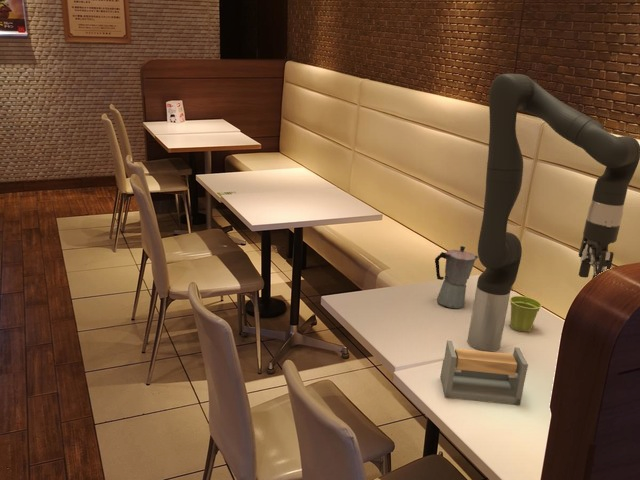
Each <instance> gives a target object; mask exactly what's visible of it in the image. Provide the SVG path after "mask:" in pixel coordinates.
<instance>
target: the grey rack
mask: <svg viewBox="0 0 640 480" xmlns="http://www.w3.org/2000/svg"><path fill="white" fill-rule="evenodd" d="M512 354H513V356H514V359H515V361H516V363H517V368H516V373H515V375H507V374H497V373H487V372H478V371H468V370H458V369H456V360H457V356H456V353H455V348H454V343H453V340H446V345H445V350H444V356H443V359H442V364H441V372H440V375H439V376H440V377H439V378H440V381H441V386H442V391H443V395H444V398H449V399H460V400H469V401H479V402H485V403H486V402H489V403H496V404H498V403H499V404H506V405H515V406H516V405H517V406H520V404H521V402H522V401H521V400H522V395H523V392H524V391H523V390H524V387H525V382H526V377H527V373H528V367H529V363H528V362H527V360H526V358H525V356H524V354H523V352H522V350H521V348H520V347H514V350H513V353H512Z"/></svg>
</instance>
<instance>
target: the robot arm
mask: <svg viewBox="0 0 640 480" xmlns="http://www.w3.org/2000/svg"><path fill="white" fill-rule="evenodd" d="M488 94H489V97H488V108H489V109H488V110H489V111H488V112H489V138H488V139H489V140H488V154H487V162H486V163H487V164H486V175H485V191H484V203H483V204H484V205H483V214H482V220H481V221H482V222H481V227H480V231H479V235H478V236H479V237H478V242H477V256H478V259H479V262H480V264H481V265H482V266H483V267H485V270H484V271H483V272H482V273H481V274H480V275H479V276H478V278H477V283H476V287H475V288H476V289H475V294H474V299H473V307H472V311H471V318H470V324H469V329H468V333H467V334H468V335H467V340H466V341H467V343H468V344H469V346H470V347H472V348H474V349H477V350H478V351H486V352H495V351H498V350H499V349H500V348H501V342H502V338H503V333H504V328H505V322H506V317H507V312H508V307H509V302H510V298H511V296H510V295H511V291H512V287H513V285H514V284H515V282H516V280H517V277H518V273H519V268H520V264H521V260H522V254H523V247H522V243H521V241H520V239H519V237H518V236H517V235H515V234H514V233H513V232H508V231H507V229H508V221H509V217H510V215H511V212H512V210H513V207H514V205H515V203H516V201H517V200H518V197H519V194H520V192H521V188H522V183H523V175H524V158H523V154H522V151H521V147H520V144H519V142H518V141H519V140H518V138H517V137H518V136H517V115H518V111H523V112H526V113H528V114H531V115H534V116H536V117H537V118H540V119H541V120H542V121H544V122H545V123H546V124H547V125H548V126H549V127H550V128H551V129H552V130H553V131H554V132H555V133H556V134H557V135H559V136H560V137H561V138H563V139H564V140H567V141H568V142H570V143H571V144H573V145H575V146H576V147H578V148H581V149H582V150H584V152H585V153H586V154H587V155H589V156H590V157H591V158H592V159H593V160H595V161H596V162H597V163H599V164H600V165H602V166H605V169H604V172H603V174H601V176H599V177H598V178H597V180H596V182H595V185H594V189H593V193H592V198H591V201H590V204H589V207H588V211H587V215H586V219H585V223H584V229H583V232H582V236H583V237H582V240H581V243H580V247H579V251H578V257H579V258H580V259H579V260H580V267H579V271H578V276H579V277H581V278H585V279H586V278H588V277H589V275H590V270H591V267H593V268H592V269H593V270H592V271H593V274H592V278H591V280H592V279H593V278H594V277H595V276H597V275H598V274H599V273H601V272H603V271H605V270H607V269H610V268H612V264H613V261H614V260H613V258H614V252H613V251H609V245H610V244H614V243H616V241H617V239H618V237H619V236H618V235H619V231H620V226H621V224H622V219H623V214H624V207H625V201H626V197H627V193H628V188H629V185H630V184H631V183H630V182H631V180H632V179H633V177H634V174H635V172H636V170H637V167H638V166H639V163H640V142H639V141H638V140H637V139H636V138H634V137H633V136H629V135H625V136H624V135H623V136H621V135H620V136H616V135H614V134H612V133H610V132H608V131H607V130H605V128H604V126H603V124H601V122H599V121H597V120H595V119H593V118H592V117H590V116H588V115H587V114H584V113H583V112H580V111H579V110H577V109H574V107H572V106H569V105H568V104H566V103H565V102H562V101H561V100H559V99H558V98H556V97H555V96H553V94H550V93H549V92H548V91H546V90H545V89H544V88H543V87H542V86H540V85H539V84H538V83H537V82H536V81H535V80H533V79H532V78H530V77H529V76H528V75H526V74H522V73H521V74H520V73H501V74H499V75H498V76H496V77H495V78H494V80H493V81H492V83H491V85H490V87H489V93H488ZM610 270H611V269H610Z"/></svg>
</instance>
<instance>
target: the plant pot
mask: <svg viewBox="0 0 640 480" xmlns="http://www.w3.org/2000/svg"><path fill="white" fill-rule="evenodd" d="M509 302H510V327H511V328H512V329H514V330H516V331H518V332H530V331H531V330H532V327H533V325H534V322H535V319H536V316H537V315H538V312H539V311H540V309H542V307H543V305H542V303H541V302H540V301H539V300H537V299H535V298H532V297H529V296H525V295H513V296H510V297H509Z"/></svg>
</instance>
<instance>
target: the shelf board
mask: <svg viewBox="0 0 640 480" xmlns="http://www.w3.org/2000/svg"><path fill="white" fill-rule="evenodd" d="M454 350H455V353H456V356H457V360H456V369H458V370H468V371H478V372H487V373H497V374H507V375H515V373H516V368H517V363H516V361H515V359H514V356H513V353H512V354H511V353H504V352H502V353H501V352H495V351H483V350H475V349H474V350H473V349H464V348H454Z"/></svg>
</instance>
